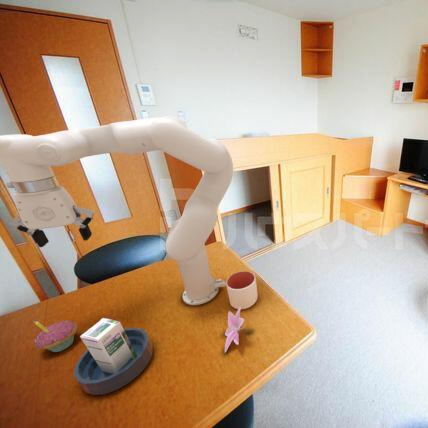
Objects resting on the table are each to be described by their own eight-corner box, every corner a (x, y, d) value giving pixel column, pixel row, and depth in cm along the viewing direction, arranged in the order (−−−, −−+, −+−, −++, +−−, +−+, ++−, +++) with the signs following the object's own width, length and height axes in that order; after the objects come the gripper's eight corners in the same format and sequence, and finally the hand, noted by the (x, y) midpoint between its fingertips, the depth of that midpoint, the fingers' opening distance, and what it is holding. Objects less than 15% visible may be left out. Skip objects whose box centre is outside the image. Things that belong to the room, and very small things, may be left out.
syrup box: (119, 376, 63) (98, 340, 57) (101, 371, 65) (78, 335, 58) (138, 356, 69) (120, 320, 62) (121, 352, 70) (102, 316, 63)
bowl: (158, 333, 76) (153, 321, 74) (146, 381, 63) (140, 368, 61) (97, 350, 71) (89, 338, 68) (71, 407, 58) (60, 394, 55)
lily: (234, 319, 83) (216, 308, 76) (264, 312, 80) (247, 300, 74) (226, 358, 74) (205, 349, 68) (259, 351, 71) (240, 341, 65)
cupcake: (47, 363, 67) (25, 334, 62) (38, 348, 71) (17, 319, 66) (86, 340, 73) (69, 312, 68) (76, 327, 77) (60, 300, 72)
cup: (262, 293, 92) (260, 273, 88) (250, 313, 84) (246, 292, 79) (239, 289, 94) (235, 268, 90) (224, 308, 86) (220, 287, 81)
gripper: (-23, 193, 55) (16, 254, 62) (73, 185, 61) (98, 242, 68) (1, 184, 61) (34, 240, 69) (86, 177, 67) (108, 230, 75)
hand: (66, 241), depth 69 cm, fingers open, 9 cm apart
